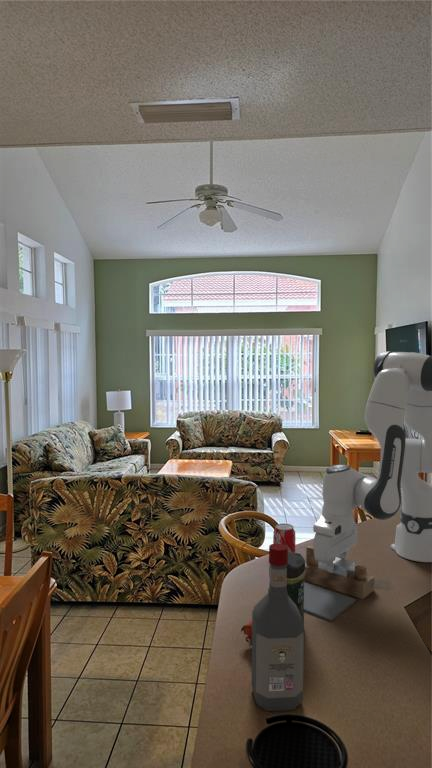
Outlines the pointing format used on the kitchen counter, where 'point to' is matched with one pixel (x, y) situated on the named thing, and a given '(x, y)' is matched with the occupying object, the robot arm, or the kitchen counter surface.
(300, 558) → the coffee jar
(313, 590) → the rubber mat
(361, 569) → the hand plane
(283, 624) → the liquor
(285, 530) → the soda can
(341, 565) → the lever cap
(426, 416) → the robot arm
